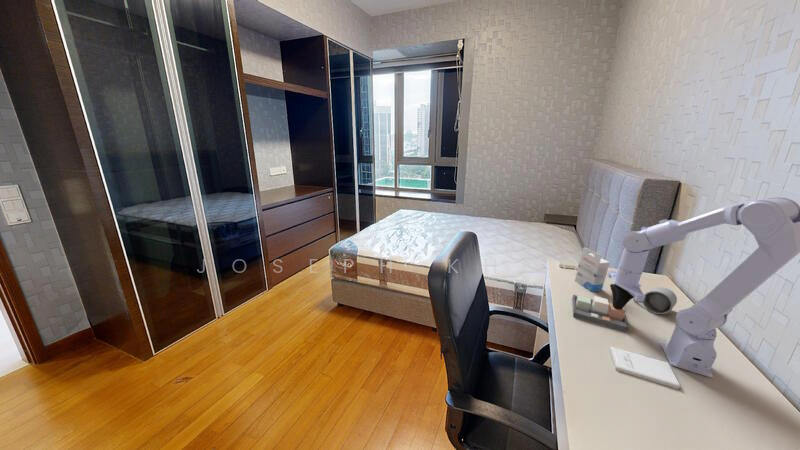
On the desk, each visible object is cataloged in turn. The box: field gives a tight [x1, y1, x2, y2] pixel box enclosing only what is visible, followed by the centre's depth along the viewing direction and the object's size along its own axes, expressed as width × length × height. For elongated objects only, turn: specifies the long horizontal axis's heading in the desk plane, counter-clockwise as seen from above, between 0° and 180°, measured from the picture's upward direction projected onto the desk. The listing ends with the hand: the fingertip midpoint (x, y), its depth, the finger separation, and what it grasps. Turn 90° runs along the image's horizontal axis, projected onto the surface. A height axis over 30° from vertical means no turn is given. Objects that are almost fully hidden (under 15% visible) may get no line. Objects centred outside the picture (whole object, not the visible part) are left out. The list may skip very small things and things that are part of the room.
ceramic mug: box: [632, 286, 678, 315], centre depth 98 cm, size 11×8×8 cm
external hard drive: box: [608, 346, 681, 390], centre depth 73 cm, size 2×8×12 cm
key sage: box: [575, 295, 591, 312], centre depth 96 cm, size 4×4×3 cm
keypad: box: [571, 294, 630, 333], centre depth 94 cm, size 12×14×2 cm
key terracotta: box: [607, 303, 626, 321], centre depth 92 cm, size 4×4×3 cm
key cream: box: [592, 295, 610, 313], centre depth 93 cm, size 4×4×3 cm
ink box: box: [574, 246, 611, 292], centre depth 109 cm, size 8×5×15 cm, turn 13°
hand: (617, 308), depth 91 cm, fingers closed, pressing on key terracotta
